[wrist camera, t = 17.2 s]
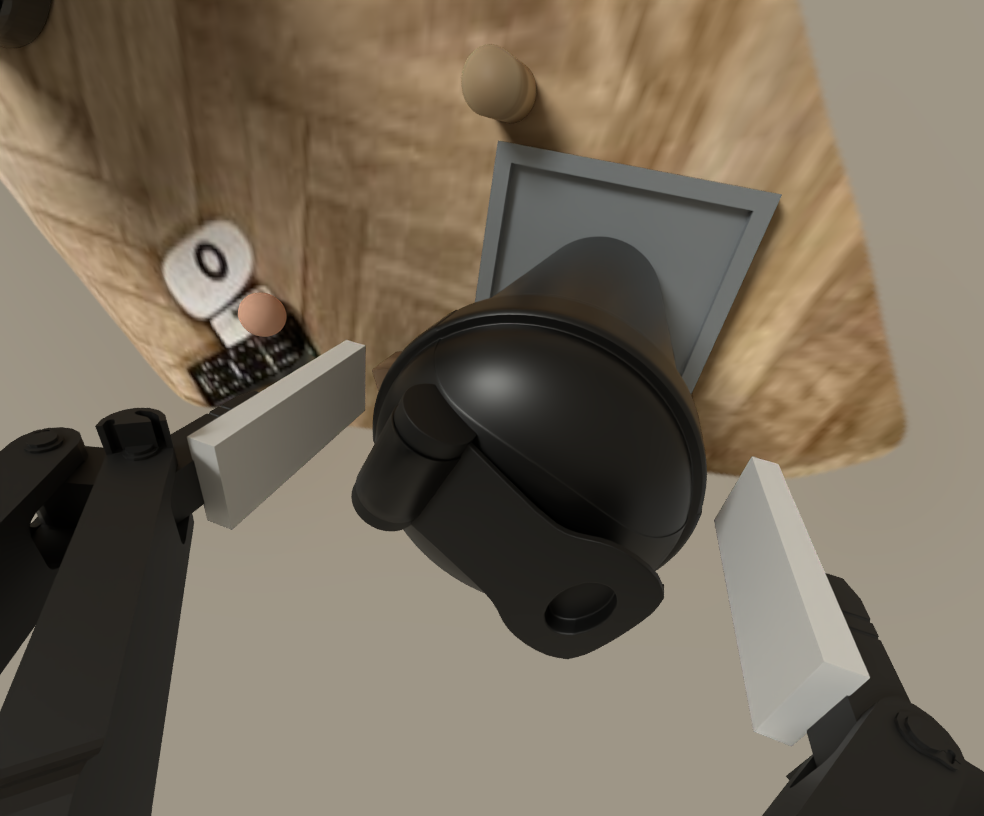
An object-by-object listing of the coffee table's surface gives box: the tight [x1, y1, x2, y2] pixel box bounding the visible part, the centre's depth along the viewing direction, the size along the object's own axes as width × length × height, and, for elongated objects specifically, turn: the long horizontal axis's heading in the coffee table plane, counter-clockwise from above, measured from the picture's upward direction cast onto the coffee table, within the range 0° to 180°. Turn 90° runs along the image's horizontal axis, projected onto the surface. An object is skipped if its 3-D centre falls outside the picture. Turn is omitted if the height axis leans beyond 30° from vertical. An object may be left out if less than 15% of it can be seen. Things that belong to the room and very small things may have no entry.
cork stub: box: [461, 44, 536, 123], centre depth 25 cm, size 3×3×4 cm
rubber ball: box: [238, 293, 286, 337], centre depth 37 cm, size 4×4×4 cm
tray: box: [475, 141, 782, 394], centre depth 30 cm, size 16×16×1 cm
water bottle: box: [352, 236, 707, 659], centre depth 20 cm, size 10×10×23 cm
